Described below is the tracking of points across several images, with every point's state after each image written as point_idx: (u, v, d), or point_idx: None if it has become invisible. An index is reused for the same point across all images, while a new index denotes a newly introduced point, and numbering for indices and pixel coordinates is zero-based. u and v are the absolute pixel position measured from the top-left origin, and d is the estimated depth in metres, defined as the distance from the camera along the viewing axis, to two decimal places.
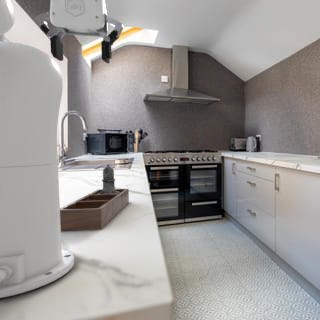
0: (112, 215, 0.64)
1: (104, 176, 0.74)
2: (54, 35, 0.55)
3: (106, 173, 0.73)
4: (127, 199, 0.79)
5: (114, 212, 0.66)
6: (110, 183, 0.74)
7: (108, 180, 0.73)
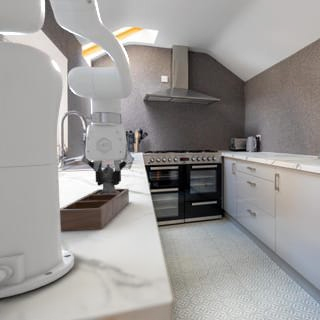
0: (112, 215, 0.64)
1: (104, 176, 0.74)
2: (98, 168, 0.73)
3: (106, 173, 0.73)
4: (127, 199, 0.79)
5: (114, 212, 0.66)
6: (110, 183, 0.74)
7: (108, 180, 0.73)
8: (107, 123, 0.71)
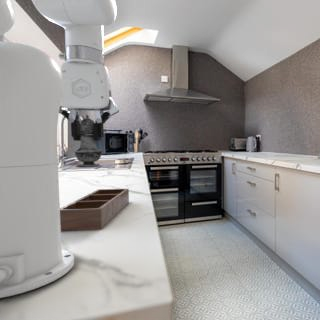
0: (112, 215, 0.64)
1: (82, 129, 0.59)
2: (74, 118, 0.59)
3: (84, 125, 0.59)
4: (127, 199, 0.79)
5: (114, 212, 0.66)
6: (90, 138, 0.59)
7: (87, 133, 0.59)
8: (85, 60, 0.56)
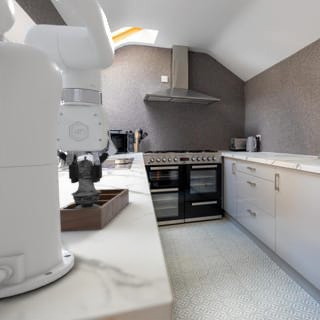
0: (112, 215, 0.64)
1: (80, 171, 0.58)
2: (72, 161, 0.57)
3: (82, 167, 0.58)
4: (127, 199, 0.79)
5: (114, 212, 0.66)
6: (88, 180, 0.58)
7: (85, 176, 0.58)
8: (82, 103, 0.55)
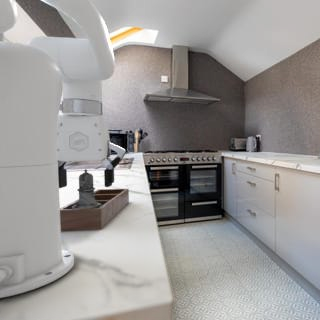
0: (112, 215, 0.64)
1: (80, 184, 0.58)
2: (58, 167, 0.57)
3: (82, 181, 0.58)
4: (127, 199, 0.79)
5: (114, 212, 0.66)
6: (88, 193, 0.58)
7: (85, 189, 0.58)
8: (82, 113, 0.55)
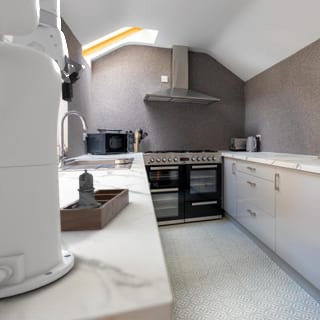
0: (112, 215, 0.64)
1: (80, 184, 0.58)
2: None
3: (82, 181, 0.58)
4: (127, 199, 0.79)
5: (114, 212, 0.66)
6: (88, 193, 0.58)
7: (85, 189, 0.58)
8: (37, 22, 0.56)
